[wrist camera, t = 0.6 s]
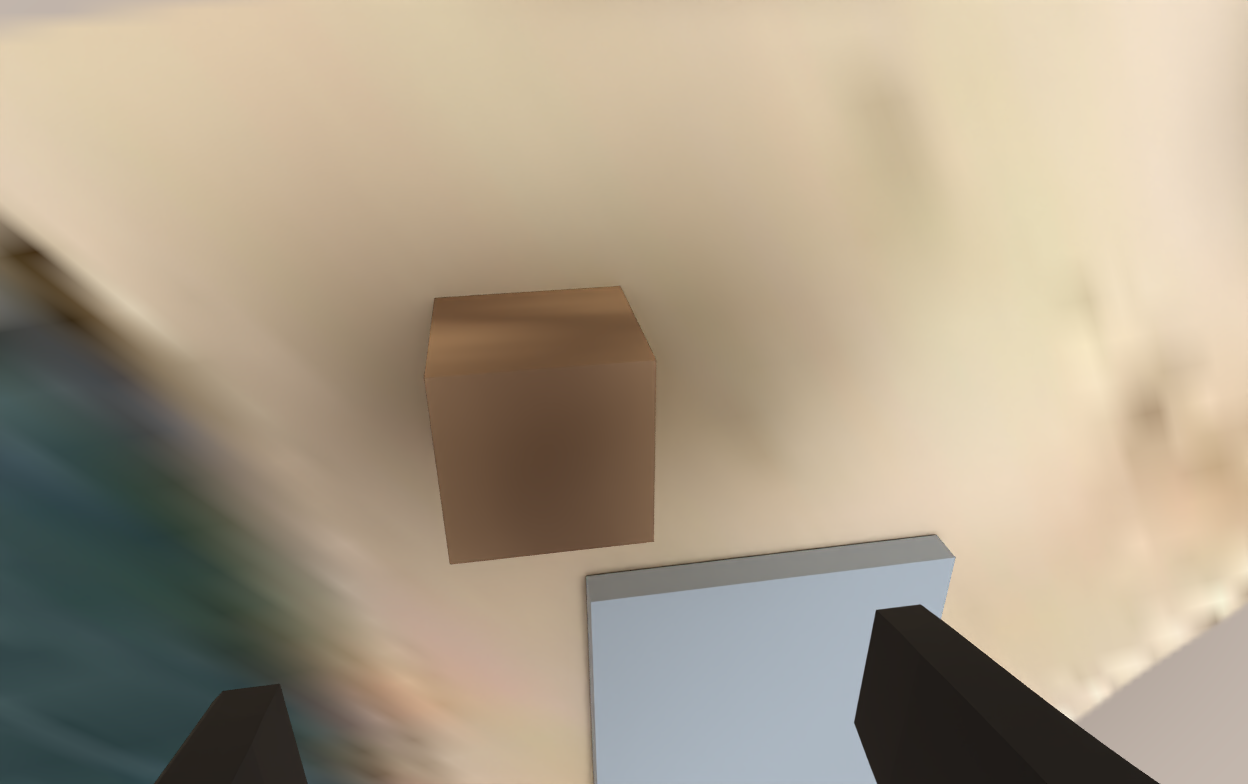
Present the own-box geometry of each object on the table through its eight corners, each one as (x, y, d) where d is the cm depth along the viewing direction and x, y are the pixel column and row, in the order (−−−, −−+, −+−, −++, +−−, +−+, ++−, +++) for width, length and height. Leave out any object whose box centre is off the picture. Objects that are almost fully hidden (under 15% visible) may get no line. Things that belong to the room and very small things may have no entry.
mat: (594, 817, 25) (599, 847, 24) (586, 576, 21) (590, 602, 20) (885, 770, 27) (898, 796, 26) (936, 534, 22) (955, 557, 21)
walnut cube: (455, 455, 19) (449, 564, 15) (434, 296, 17) (424, 378, 13) (621, 440, 19) (653, 541, 16) (619, 284, 17) (656, 360, 14)
